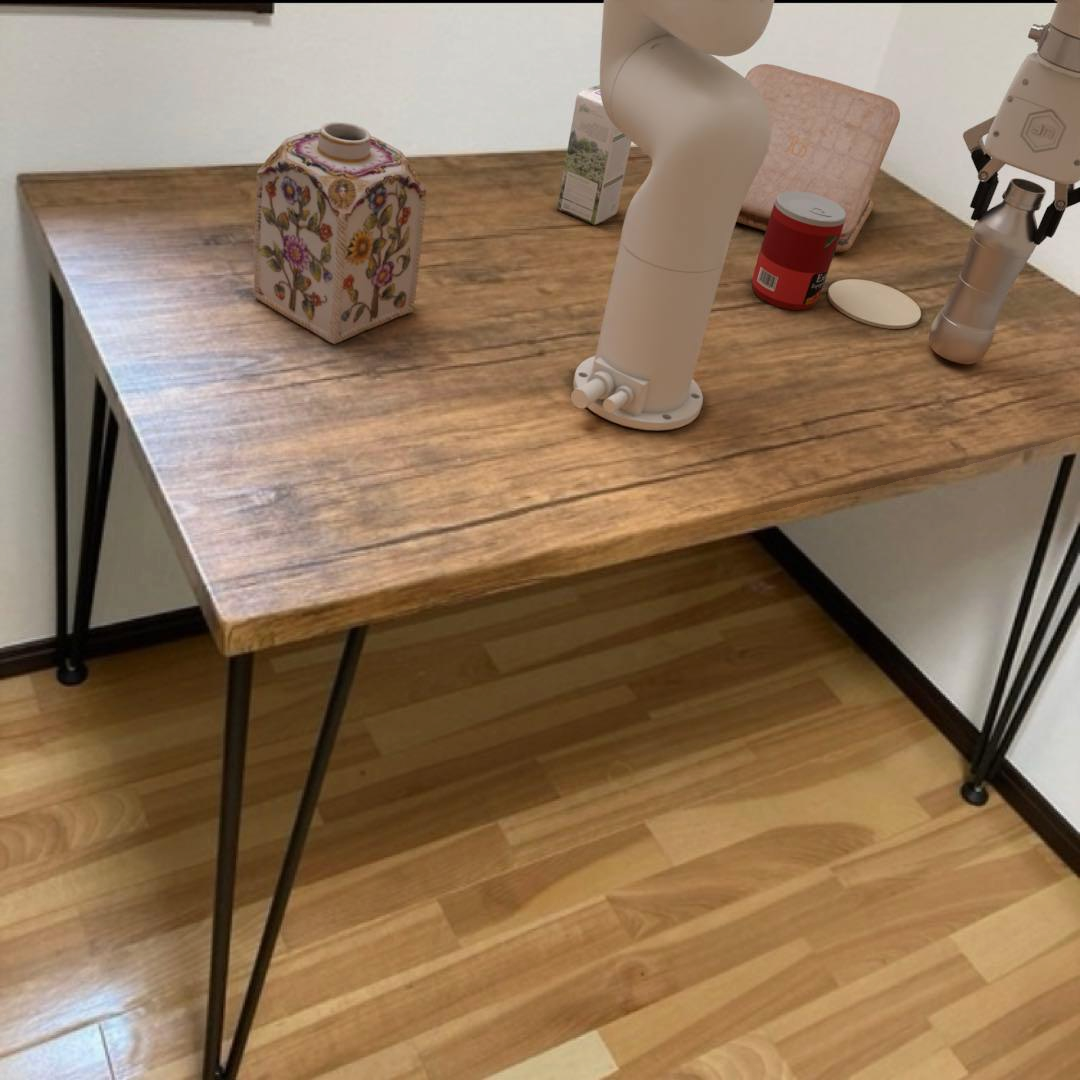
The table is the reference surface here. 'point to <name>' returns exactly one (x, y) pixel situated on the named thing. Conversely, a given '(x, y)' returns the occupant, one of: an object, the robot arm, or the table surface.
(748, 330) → the table surface
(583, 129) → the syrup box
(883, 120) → the case
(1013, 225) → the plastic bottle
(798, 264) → the canned food
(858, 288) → the coaster
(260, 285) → the decorative jar
